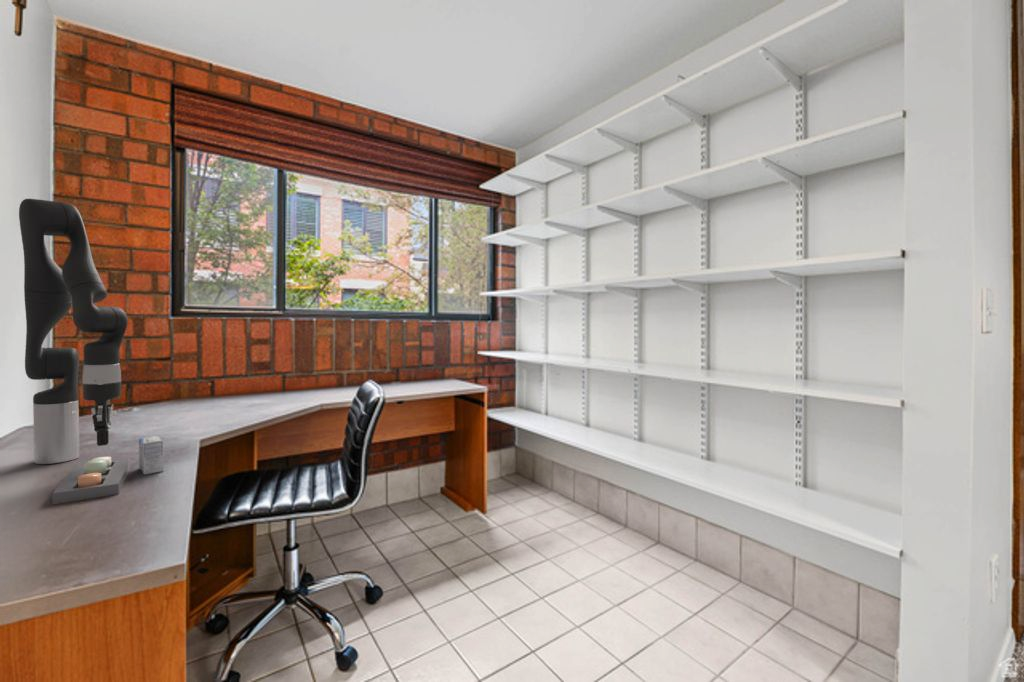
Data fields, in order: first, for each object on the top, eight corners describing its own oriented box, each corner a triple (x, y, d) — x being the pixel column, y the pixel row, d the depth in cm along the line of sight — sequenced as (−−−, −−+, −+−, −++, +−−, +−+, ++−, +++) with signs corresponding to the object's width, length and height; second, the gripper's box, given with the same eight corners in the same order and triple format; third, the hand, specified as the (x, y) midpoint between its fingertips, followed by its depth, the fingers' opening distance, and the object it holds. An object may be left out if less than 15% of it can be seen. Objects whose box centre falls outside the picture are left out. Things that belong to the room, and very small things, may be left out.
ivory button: (92, 469, 118) (92, 458, 117) (112, 466, 120) (112, 455, 120) (89, 473, 114) (89, 461, 114) (110, 470, 117) (110, 459, 117)
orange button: (80, 487, 105) (79, 474, 105) (102, 483, 107) (102, 471, 107) (76, 492, 101) (76, 479, 101) (99, 488, 104) (99, 476, 104)
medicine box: (164, 471, 121) (163, 440, 120) (143, 475, 117) (142, 443, 117) (159, 465, 126) (158, 435, 126) (138, 468, 123) (138, 438, 123)
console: (75, 474, 117) (75, 465, 117) (130, 467, 124) (130, 458, 124) (52, 504, 98) (52, 493, 98) (118, 494, 104) (118, 483, 104)
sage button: (86, 472, 111) (86, 461, 111) (107, 469, 113) (107, 458, 113) (83, 477, 108) (83, 465, 108) (105, 474, 110) (105, 462, 110)
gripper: (87, 378, 120) (87, 441, 121) (78, 385, 109) (79, 453, 110) (123, 377, 124) (124, 437, 125) (118, 383, 114) (118, 448, 115)
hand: (102, 444), depth 118 cm, fingers closed
